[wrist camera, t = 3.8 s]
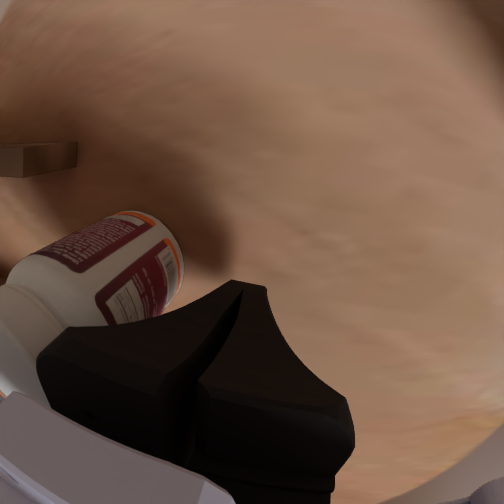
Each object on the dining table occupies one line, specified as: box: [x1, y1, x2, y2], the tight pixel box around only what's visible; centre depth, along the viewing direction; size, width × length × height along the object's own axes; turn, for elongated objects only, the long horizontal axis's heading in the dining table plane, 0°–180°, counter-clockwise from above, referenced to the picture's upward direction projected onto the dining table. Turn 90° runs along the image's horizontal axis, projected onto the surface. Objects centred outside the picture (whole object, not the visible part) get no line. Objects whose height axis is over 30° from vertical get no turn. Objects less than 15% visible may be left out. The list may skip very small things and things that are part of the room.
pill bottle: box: [0, 211, 184, 408], centre depth 9 cm, size 5×5×8 cm
